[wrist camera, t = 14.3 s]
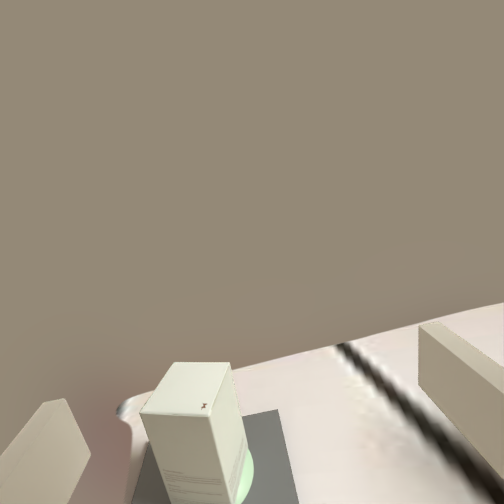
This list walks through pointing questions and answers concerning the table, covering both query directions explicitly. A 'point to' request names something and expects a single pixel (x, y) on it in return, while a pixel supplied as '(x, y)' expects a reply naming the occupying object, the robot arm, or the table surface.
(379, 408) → the table surface
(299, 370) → the table surface
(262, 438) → the charging pad
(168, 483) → the supplement box
